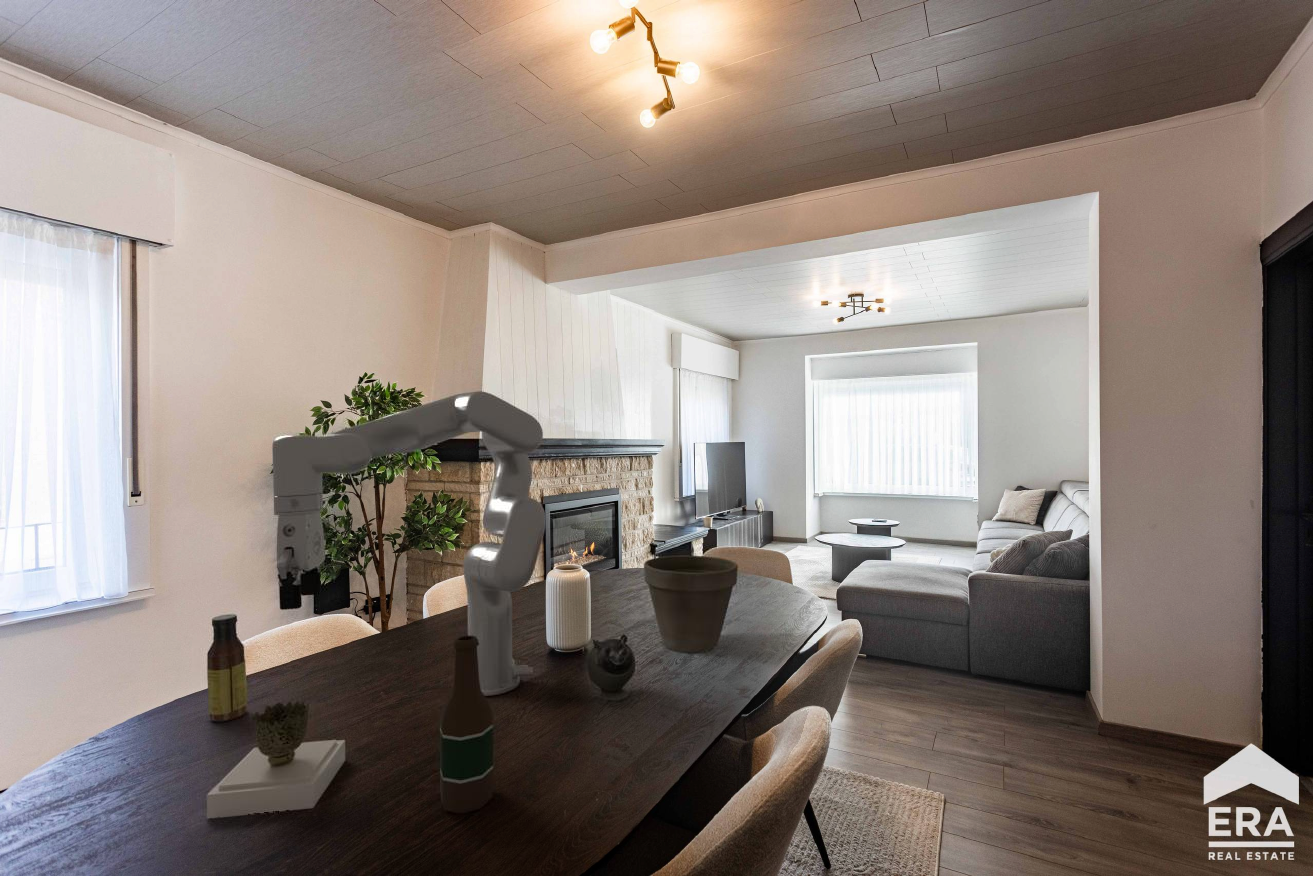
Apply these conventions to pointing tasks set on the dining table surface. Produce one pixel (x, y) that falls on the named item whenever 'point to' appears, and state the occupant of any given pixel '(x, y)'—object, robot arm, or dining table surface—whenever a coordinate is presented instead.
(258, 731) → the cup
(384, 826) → the dining table surface
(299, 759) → the pedestal
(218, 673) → the sauce bottle
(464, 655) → the beer bottle
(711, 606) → the plant pot
